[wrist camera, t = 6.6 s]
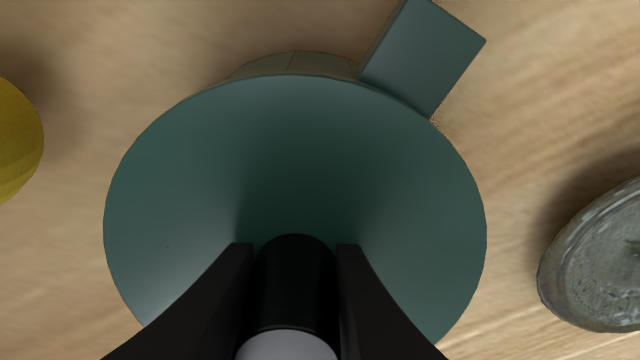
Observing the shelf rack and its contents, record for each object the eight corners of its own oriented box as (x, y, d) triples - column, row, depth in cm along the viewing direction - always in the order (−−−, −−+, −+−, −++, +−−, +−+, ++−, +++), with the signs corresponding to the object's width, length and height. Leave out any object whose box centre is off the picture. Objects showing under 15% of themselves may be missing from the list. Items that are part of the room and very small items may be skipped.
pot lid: (75, 291, 13) (-34, 424, 9) (208, -25, 9) (117, -40, 5) (350, 401, 16) (360, 546, 12) (551, 191, 12) (678, 298, 8)
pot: (137, 243, 20) (62, 346, 14) (288, -74, 14) (266, -123, 8) (315, 322, 22) (313, 438, 16) (508, 77, 16) (613, 124, 10)
